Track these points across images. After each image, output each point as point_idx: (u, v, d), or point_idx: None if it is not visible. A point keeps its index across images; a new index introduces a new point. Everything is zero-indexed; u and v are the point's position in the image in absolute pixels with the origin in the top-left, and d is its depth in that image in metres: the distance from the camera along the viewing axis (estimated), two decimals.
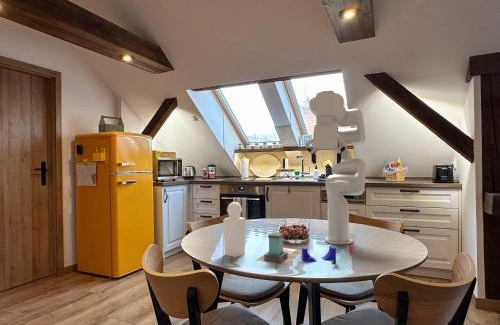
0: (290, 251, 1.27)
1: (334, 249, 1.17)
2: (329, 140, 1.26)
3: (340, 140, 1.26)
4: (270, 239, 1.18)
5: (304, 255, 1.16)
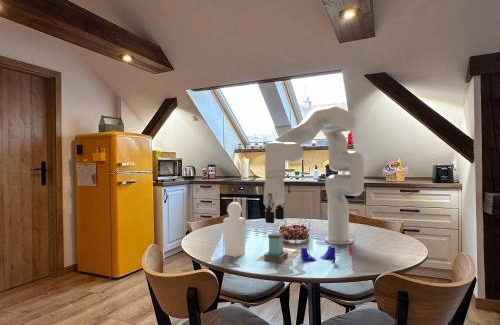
0: (290, 251, 1.27)
1: (333, 248, 1.17)
2: (282, 196, 1.19)
3: None
4: (270, 239, 1.18)
5: (303, 254, 1.17)
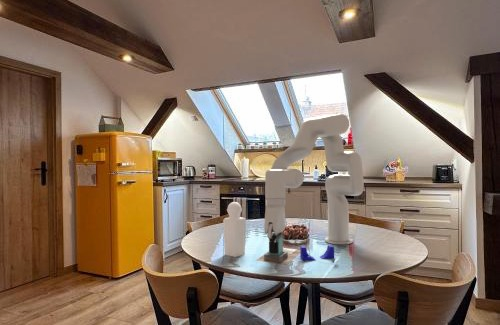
0: (290, 251, 1.27)
1: (332, 248, 1.18)
2: (283, 223, 1.20)
3: None
4: None
5: (303, 254, 1.17)
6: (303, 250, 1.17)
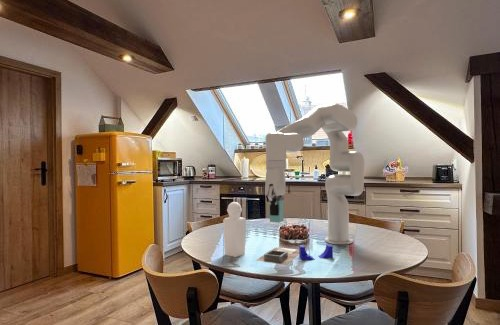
0: (290, 251, 1.27)
1: (331, 247, 1.19)
2: (283, 186, 1.20)
3: None
4: None
5: (302, 253, 1.18)
6: (302, 249, 1.18)
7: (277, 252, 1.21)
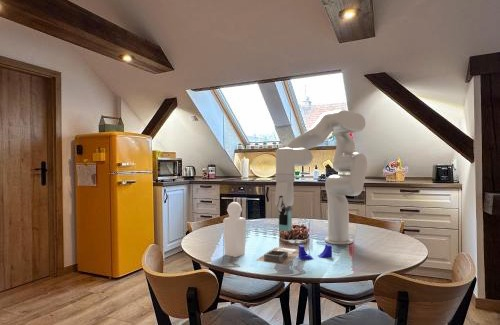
0: (290, 251, 1.27)
1: (330, 247, 1.20)
2: (292, 197, 1.29)
3: None
4: None
5: (301, 253, 1.19)
6: (301, 249, 1.19)
7: (277, 252, 1.21)
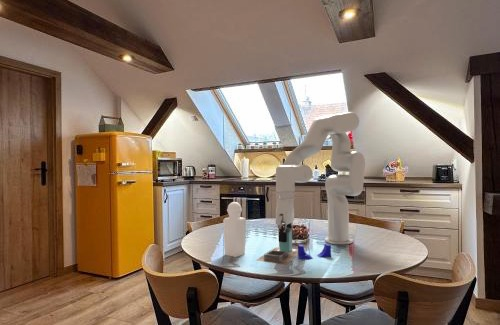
0: (290, 251, 1.27)
1: (329, 246, 1.20)
2: (292, 215, 1.29)
3: None
4: None
5: (300, 253, 1.19)
6: (301, 249, 1.19)
7: (277, 252, 1.21)
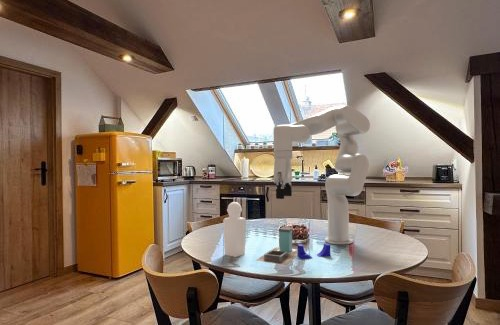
0: (290, 251, 1.27)
1: (329, 246, 1.21)
2: (290, 174, 1.31)
3: None
4: (281, 233, 1.28)
5: (300, 252, 1.20)
6: (300, 248, 1.20)
7: (277, 252, 1.21)
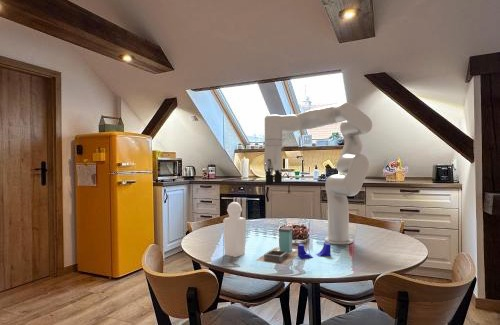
0: (290, 251, 1.27)
1: (329, 245, 1.22)
2: (280, 162, 1.37)
3: None
4: (281, 233, 1.28)
5: (301, 252, 1.20)
6: (301, 248, 1.20)
7: (277, 252, 1.21)
